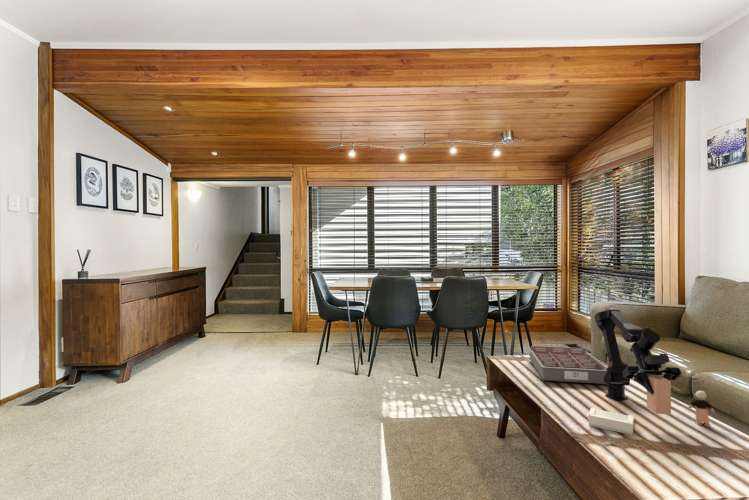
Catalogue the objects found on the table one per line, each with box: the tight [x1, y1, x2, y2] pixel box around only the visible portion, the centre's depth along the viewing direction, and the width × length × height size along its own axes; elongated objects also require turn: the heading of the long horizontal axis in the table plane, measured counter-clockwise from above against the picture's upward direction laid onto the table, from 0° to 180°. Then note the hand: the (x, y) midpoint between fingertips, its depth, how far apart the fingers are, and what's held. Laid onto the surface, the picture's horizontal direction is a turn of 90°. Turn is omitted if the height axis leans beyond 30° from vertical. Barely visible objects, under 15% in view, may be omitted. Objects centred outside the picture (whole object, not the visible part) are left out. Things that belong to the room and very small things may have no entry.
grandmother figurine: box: [687, 390, 716, 427], centre depth 150 cm, size 8×4×13 cm, turn 71°
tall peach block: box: [646, 375, 672, 415], centre depth 147 cm, size 6×5×12 cm
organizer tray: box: [528, 345, 608, 385], centre depth 214 cm, size 32×40×10 cm
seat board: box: [588, 407, 635, 436], centre depth 152 cm, size 16×14×4 cm
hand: (660, 394), depth 145 cm, fingers closed on tall peach block, 5 cm apart
